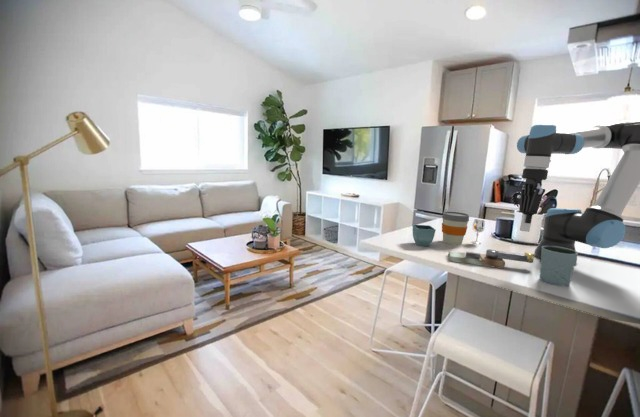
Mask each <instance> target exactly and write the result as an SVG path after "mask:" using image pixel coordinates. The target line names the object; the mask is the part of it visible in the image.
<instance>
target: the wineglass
mask: <svg viewBox="0 0 640 417" xmlns="http://www.w3.org/2000/svg"><path fill="white" fill-rule="evenodd" d="M485 228H486V222H485V220H483V219H474V220H473V222H472V226H471V229H472V230H473V231H474V232H475V233H476V239H475V241H471V244H475V245H481V244H482V243H481V242H479V240H478V238H479V237H478V236H479V234H480V233H483V232H484V231H485Z"/></svg>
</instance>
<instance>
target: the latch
mask: <svg viewBox="0 0 640 417" xmlns="http://www.w3.org/2000/svg"><path fill="white" fill-rule="evenodd" d="M485 252H486V253H485V254H486V256H487V257H489V258H499V259H503V260H509V261H515V262H522V263H523V262H524V263H529V264H533V263H534V259H535V255H534V253H532V252H524V253H517V252H510V251H501V250H495V249H486V251H485Z"/></svg>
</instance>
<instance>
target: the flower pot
mask: <svg viewBox="0 0 640 417" xmlns="http://www.w3.org/2000/svg"><path fill="white" fill-rule="evenodd" d="M436 230H437V229H435V227H432V226H431V225H428V224H427V225H423V224H412V238H413V241H414V243H415V244H416V245H417V246H421V247H422V246H424V247H429V246H430V245H431V243H432V242H433V241H434V238H435V234H436Z"/></svg>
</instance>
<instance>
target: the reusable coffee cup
mask: <svg viewBox="0 0 640 417" xmlns="http://www.w3.org/2000/svg"><path fill="white" fill-rule="evenodd" d="M441 219H442V222H441V232H442V243H445V244H447V245H453V246H460V245H462V244H463V241H464V238H465V236H466V233H467V229H468V223H469V221H470V215H469V214H468V213H463V212H459V211H443V212H442V217H441Z"/></svg>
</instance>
